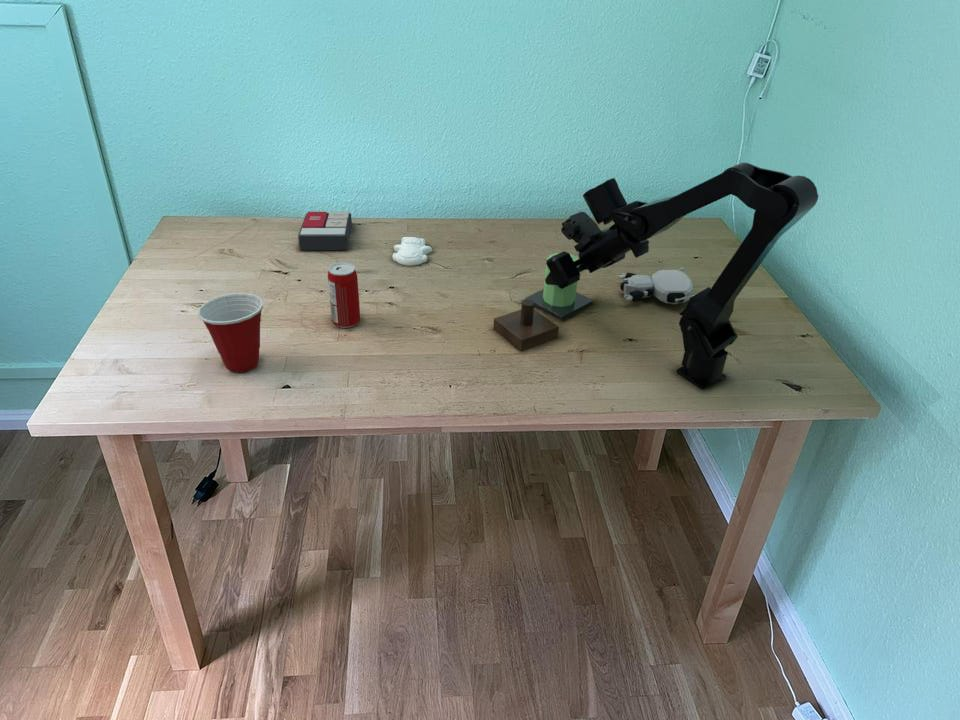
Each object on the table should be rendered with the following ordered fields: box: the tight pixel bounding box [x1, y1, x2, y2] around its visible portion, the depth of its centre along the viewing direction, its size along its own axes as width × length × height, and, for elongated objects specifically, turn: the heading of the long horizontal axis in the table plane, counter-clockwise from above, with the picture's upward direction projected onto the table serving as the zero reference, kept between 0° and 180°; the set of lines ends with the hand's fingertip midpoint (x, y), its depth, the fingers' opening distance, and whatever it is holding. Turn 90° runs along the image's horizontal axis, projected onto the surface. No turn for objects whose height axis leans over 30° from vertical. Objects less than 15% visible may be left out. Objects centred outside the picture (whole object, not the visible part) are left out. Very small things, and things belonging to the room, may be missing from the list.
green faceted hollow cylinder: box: [543, 252, 580, 307], centre depth 145 cm, size 6×7×9 cm
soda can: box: [327, 261, 361, 329], centre depth 136 cm, size 6×6×12 cm
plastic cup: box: [197, 292, 264, 374], centre depth 123 cm, size 11×11×12 cm
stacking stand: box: [492, 298, 560, 352], centre depth 136 cm, size 9×9×7 cm
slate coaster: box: [525, 288, 594, 322], centre depth 148 cm, size 10×10×1 cm
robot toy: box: [617, 267, 695, 305], centre depth 150 cm, size 12×4×15 cm
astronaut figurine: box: [391, 236, 433, 267], centre depth 163 cm, size 9×12×3 cm
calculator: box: [297, 211, 353, 251], centre depth 169 cm, size 11×4×15 cm
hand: (561, 275), depth 144 cm, fingers open, 9 cm apart
